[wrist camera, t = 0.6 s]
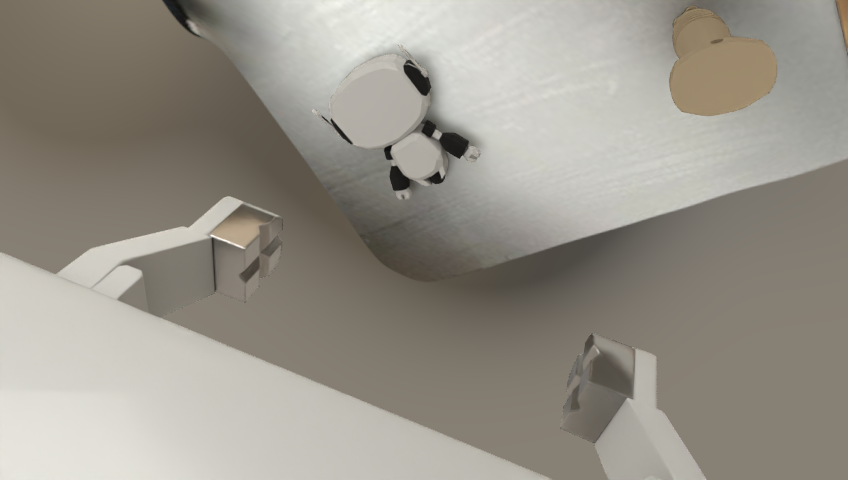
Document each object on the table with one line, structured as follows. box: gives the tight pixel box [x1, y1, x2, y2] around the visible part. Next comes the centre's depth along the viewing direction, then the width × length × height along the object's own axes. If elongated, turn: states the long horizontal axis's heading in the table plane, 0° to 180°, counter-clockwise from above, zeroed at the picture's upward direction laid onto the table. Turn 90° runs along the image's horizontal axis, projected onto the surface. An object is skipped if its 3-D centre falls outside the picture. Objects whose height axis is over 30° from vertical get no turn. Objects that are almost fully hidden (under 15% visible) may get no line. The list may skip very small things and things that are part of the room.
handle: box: [669, 6, 777, 116], centre depth 45 cm, size 5×6×15 cm
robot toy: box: [312, 44, 480, 200], centre depth 61 cm, size 12×4×15 cm
